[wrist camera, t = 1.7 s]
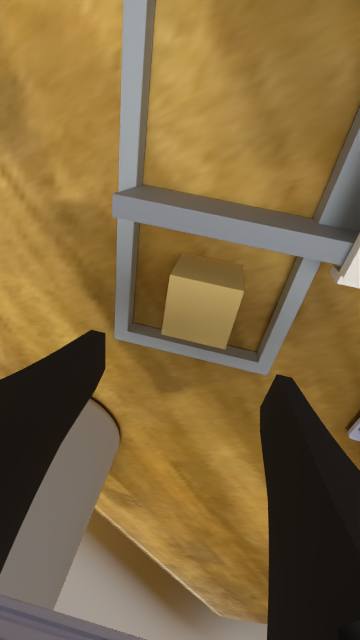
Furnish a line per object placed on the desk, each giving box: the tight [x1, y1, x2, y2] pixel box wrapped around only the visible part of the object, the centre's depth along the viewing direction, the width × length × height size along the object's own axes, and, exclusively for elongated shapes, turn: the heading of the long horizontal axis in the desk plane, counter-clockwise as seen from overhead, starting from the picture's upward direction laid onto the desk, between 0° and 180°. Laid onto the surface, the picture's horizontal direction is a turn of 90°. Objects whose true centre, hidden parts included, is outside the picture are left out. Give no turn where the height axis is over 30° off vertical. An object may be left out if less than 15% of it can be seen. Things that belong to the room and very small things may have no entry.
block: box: [161, 252, 244, 349], centre depth 17 cm, size 4×4×4 cm
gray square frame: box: [112, 0, 360, 376], centre depth 13 cm, size 22×22×4 cm
